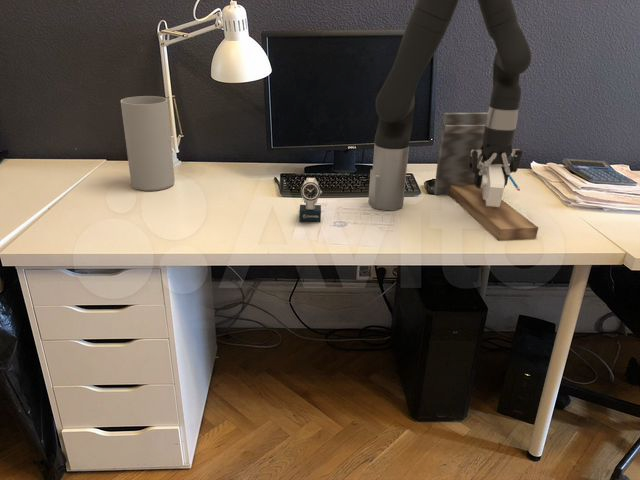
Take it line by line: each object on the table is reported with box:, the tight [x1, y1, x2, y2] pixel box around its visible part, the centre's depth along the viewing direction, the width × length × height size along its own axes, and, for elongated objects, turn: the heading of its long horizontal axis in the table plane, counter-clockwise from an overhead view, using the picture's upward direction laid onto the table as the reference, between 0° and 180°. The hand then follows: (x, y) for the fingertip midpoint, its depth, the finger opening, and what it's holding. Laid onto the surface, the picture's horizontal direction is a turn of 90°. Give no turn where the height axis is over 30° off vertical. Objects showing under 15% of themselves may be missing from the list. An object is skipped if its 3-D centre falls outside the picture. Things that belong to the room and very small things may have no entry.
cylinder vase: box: [120, 95, 176, 192], centre depth 156 cm, size 12×12×25 cm
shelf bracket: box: [481, 156, 505, 207], centre depth 146 cm, size 6×25×13 cm, turn 169°
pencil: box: [508, 173, 521, 191], centre depth 173 cm, size 1×17×1 cm, turn 173°
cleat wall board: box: [433, 111, 539, 241], centre depth 142 cm, size 18×34×24 cm, turn 10°
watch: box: [298, 177, 323, 223], centre depth 138 cm, size 6×8×11 cm
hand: (489, 186), depth 145 cm, fingers closed on shelf bracket, 6 cm apart
